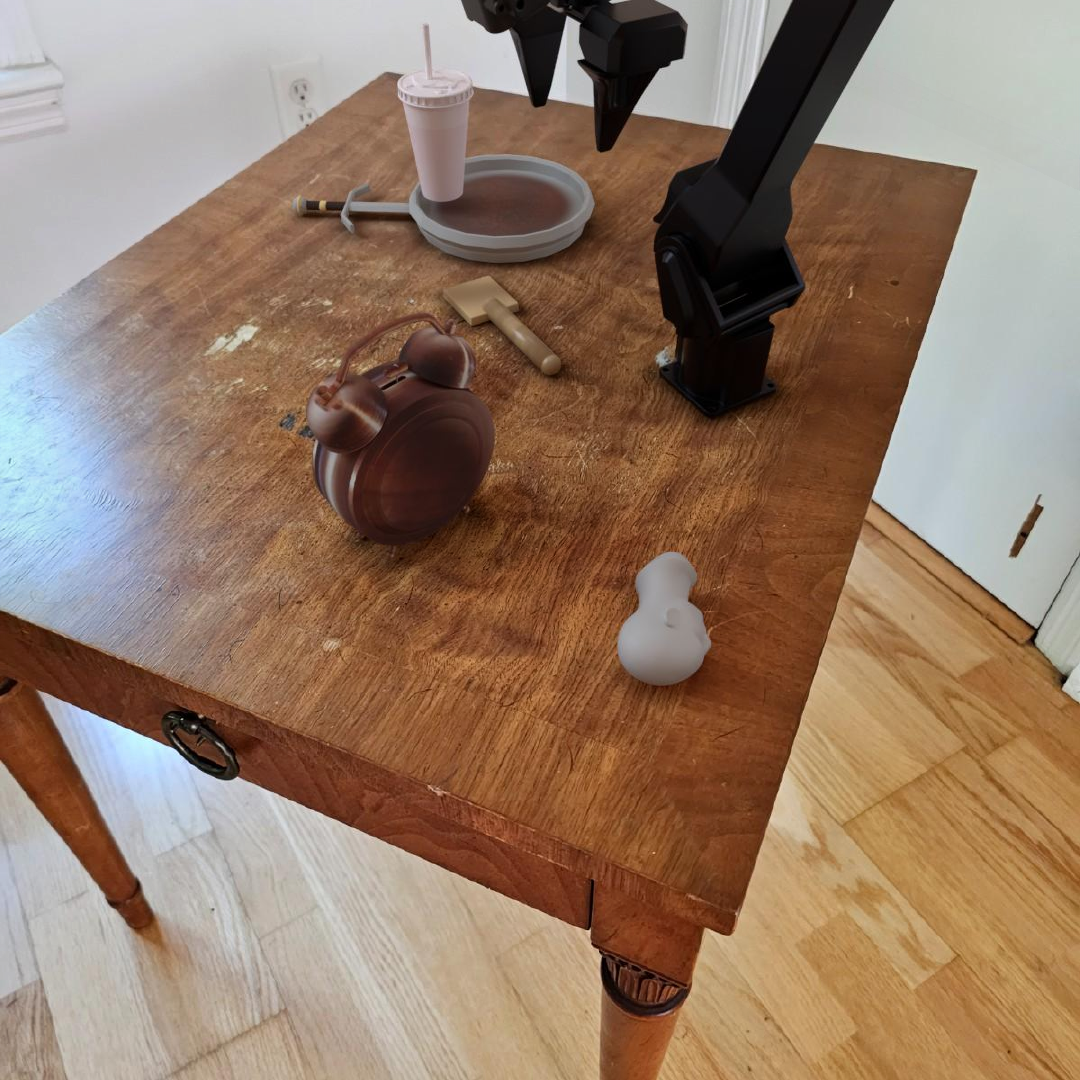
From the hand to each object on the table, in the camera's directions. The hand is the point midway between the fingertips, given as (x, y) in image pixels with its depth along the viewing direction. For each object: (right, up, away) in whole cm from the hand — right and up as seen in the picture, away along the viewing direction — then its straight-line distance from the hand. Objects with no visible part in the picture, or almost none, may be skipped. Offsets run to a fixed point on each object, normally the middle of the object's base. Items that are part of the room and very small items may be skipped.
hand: (570, 127), depth 72 cm
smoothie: (-11, 0, +15) cm, 19 cm away
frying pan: (-11, -1, +17) cm, 20 cm away
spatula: (-5, -14, +4) cm, 16 cm away
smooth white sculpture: (+5, -37, -17) cm, 41 cm away
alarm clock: (-10, -30, -11) cm, 34 cm away
